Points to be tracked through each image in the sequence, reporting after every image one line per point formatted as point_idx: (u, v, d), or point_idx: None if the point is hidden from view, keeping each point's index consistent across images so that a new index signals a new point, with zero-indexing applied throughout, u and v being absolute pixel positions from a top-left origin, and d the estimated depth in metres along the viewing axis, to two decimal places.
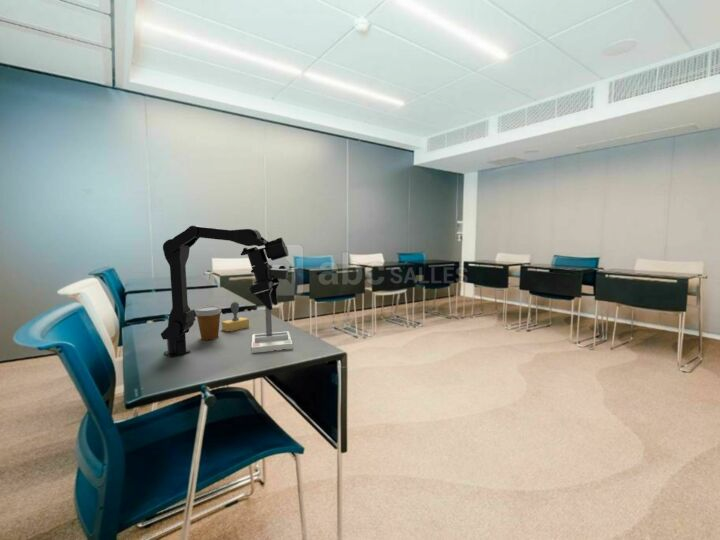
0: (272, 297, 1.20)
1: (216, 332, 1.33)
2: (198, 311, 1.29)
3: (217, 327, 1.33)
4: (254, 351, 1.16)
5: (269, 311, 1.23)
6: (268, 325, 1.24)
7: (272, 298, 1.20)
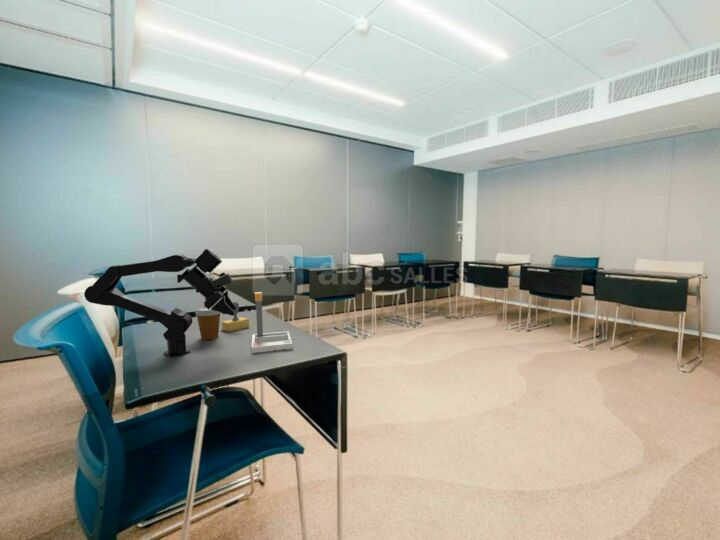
0: (228, 304, 1.24)
1: (216, 332, 1.33)
2: (198, 311, 1.29)
3: (217, 327, 1.33)
4: (254, 351, 1.16)
5: (260, 312, 1.22)
6: (259, 326, 1.23)
7: (229, 305, 1.24)
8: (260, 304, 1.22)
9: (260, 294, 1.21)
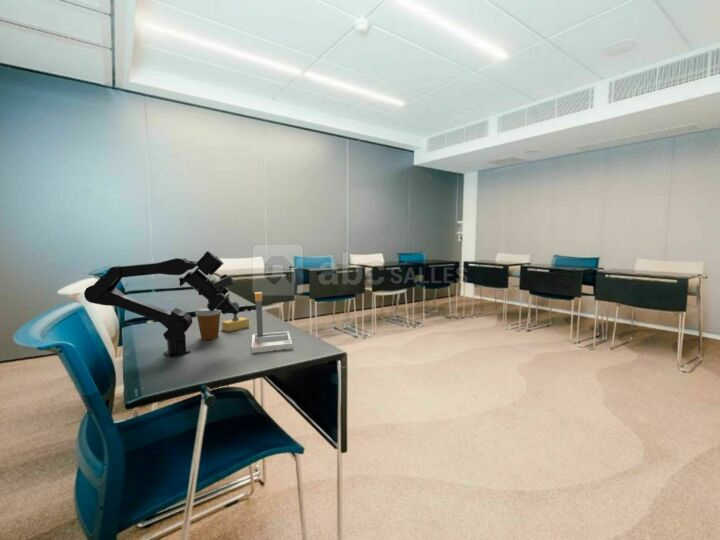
0: None
1: (216, 332, 1.33)
2: (198, 311, 1.29)
3: (217, 327, 1.33)
4: (254, 351, 1.16)
5: (260, 312, 1.22)
6: (259, 326, 1.23)
7: None
8: (260, 304, 1.22)
9: (260, 294, 1.21)
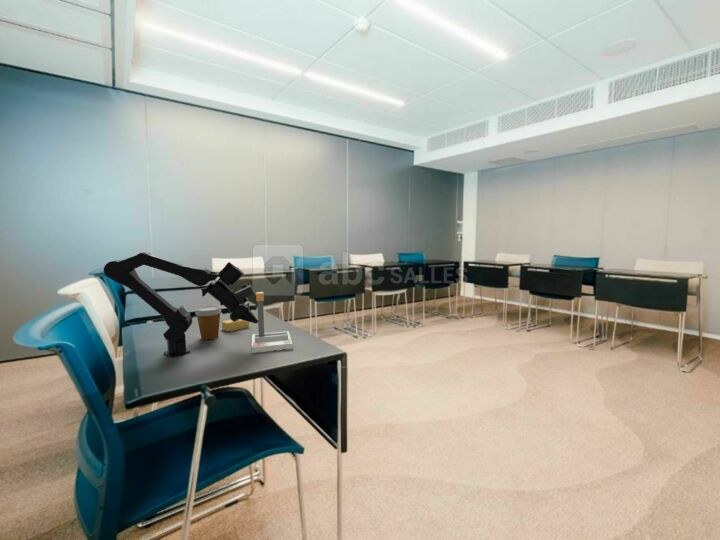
0: None
1: (216, 332, 1.33)
2: (198, 311, 1.29)
3: (217, 327, 1.33)
4: (254, 351, 1.16)
5: (261, 312, 1.22)
6: (260, 326, 1.23)
7: None
8: (261, 304, 1.22)
9: (261, 294, 1.21)
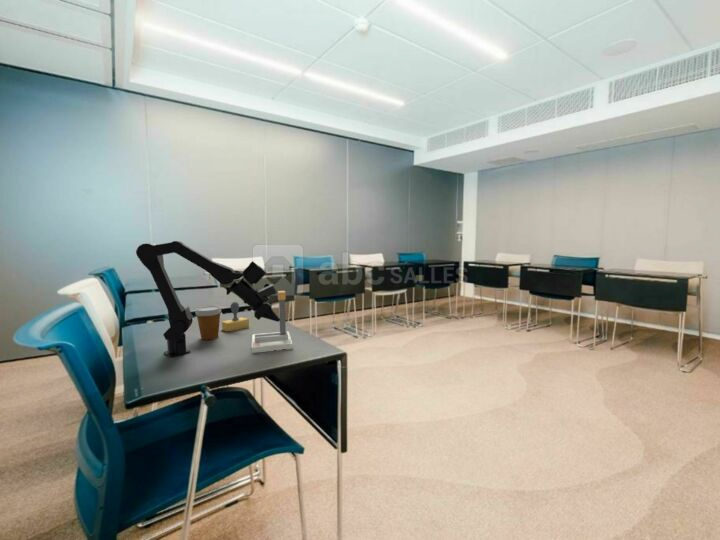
0: None
1: (216, 332, 1.33)
2: (198, 311, 1.29)
3: (217, 327, 1.33)
4: (254, 351, 1.16)
5: (283, 310, 1.25)
6: (282, 324, 1.25)
7: None
8: (283, 303, 1.24)
9: (283, 293, 1.23)
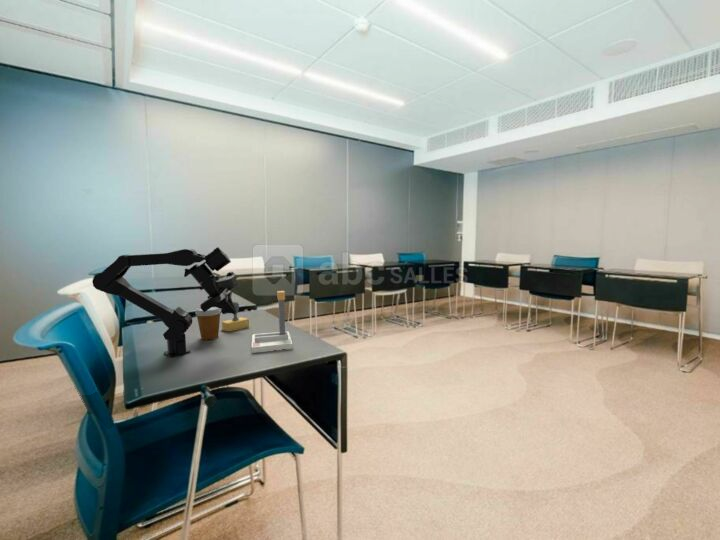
0: None
1: (216, 332, 1.33)
2: (198, 311, 1.29)
3: (217, 327, 1.33)
4: (254, 351, 1.16)
5: (282, 310, 1.25)
6: (281, 324, 1.25)
7: None
8: (282, 303, 1.24)
9: (283, 293, 1.23)
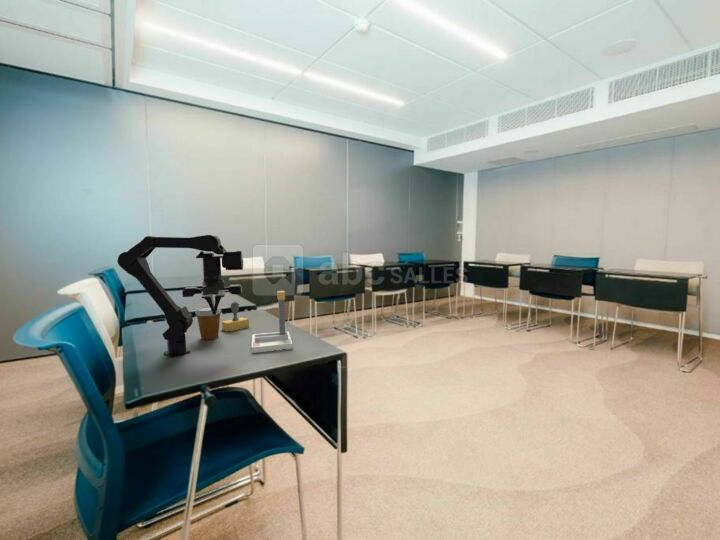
0: None
1: (216, 332, 1.33)
2: (198, 311, 1.29)
3: (217, 327, 1.33)
4: (254, 351, 1.16)
5: (282, 310, 1.25)
6: (281, 324, 1.25)
7: None
8: (282, 303, 1.24)
9: (283, 293, 1.23)
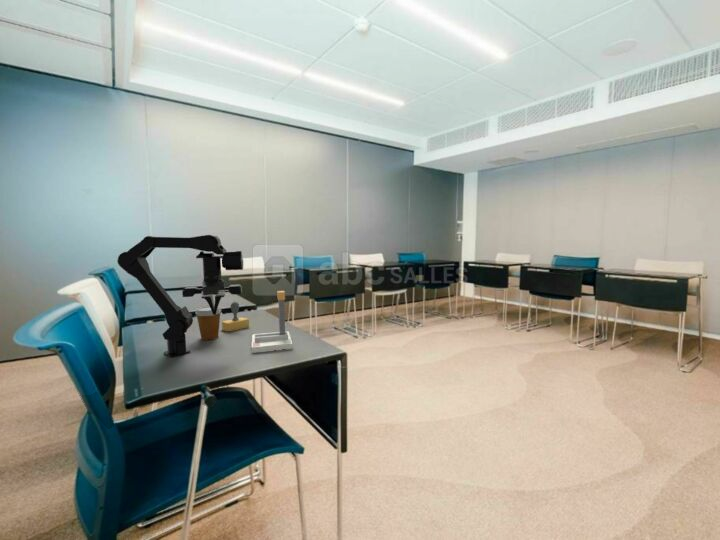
0: None
1: (216, 332, 1.33)
2: (198, 311, 1.29)
3: (217, 327, 1.33)
4: (254, 351, 1.16)
5: (282, 310, 1.25)
6: (281, 324, 1.25)
7: None
8: (282, 303, 1.24)
9: (283, 293, 1.23)
